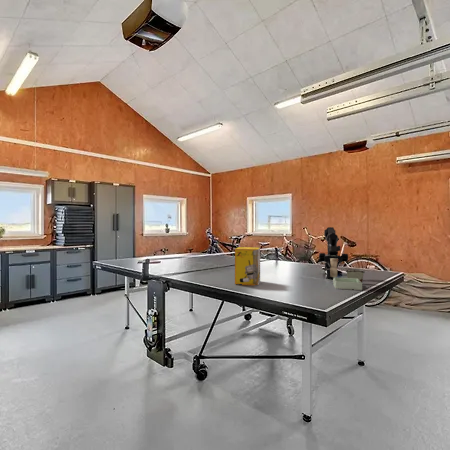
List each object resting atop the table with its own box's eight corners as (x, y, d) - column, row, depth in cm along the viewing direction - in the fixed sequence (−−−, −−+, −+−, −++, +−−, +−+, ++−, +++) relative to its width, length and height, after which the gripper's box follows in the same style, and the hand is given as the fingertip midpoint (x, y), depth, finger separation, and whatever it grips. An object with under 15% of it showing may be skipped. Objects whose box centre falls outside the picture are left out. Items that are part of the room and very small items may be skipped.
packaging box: (258, 285, 204) (258, 249, 204) (234, 284, 208) (234, 248, 208) (260, 281, 220) (260, 247, 220) (238, 280, 223) (238, 247, 223)
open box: (333, 283, 211) (333, 277, 211) (357, 285, 206) (357, 278, 206) (335, 288, 195) (335, 281, 195) (362, 290, 191) (362, 283, 191)
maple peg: (329, 276, 203) (329, 258, 203) (334, 275, 204) (335, 258, 204) (332, 277, 198) (332, 259, 198) (338, 277, 199) (338, 259, 199)
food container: (363, 282, 215) (363, 269, 215) (364, 284, 209) (364, 270, 209) (344, 281, 218) (344, 268, 218) (345, 283, 212) (345, 269, 212)
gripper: (319, 241, 207) (319, 259, 197) (348, 241, 202) (350, 260, 192) (318, 251, 215) (319, 269, 204) (346, 252, 210) (348, 270, 199)
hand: (334, 267), depth 200 cm, fingers closed on maple peg, 4 cm apart
